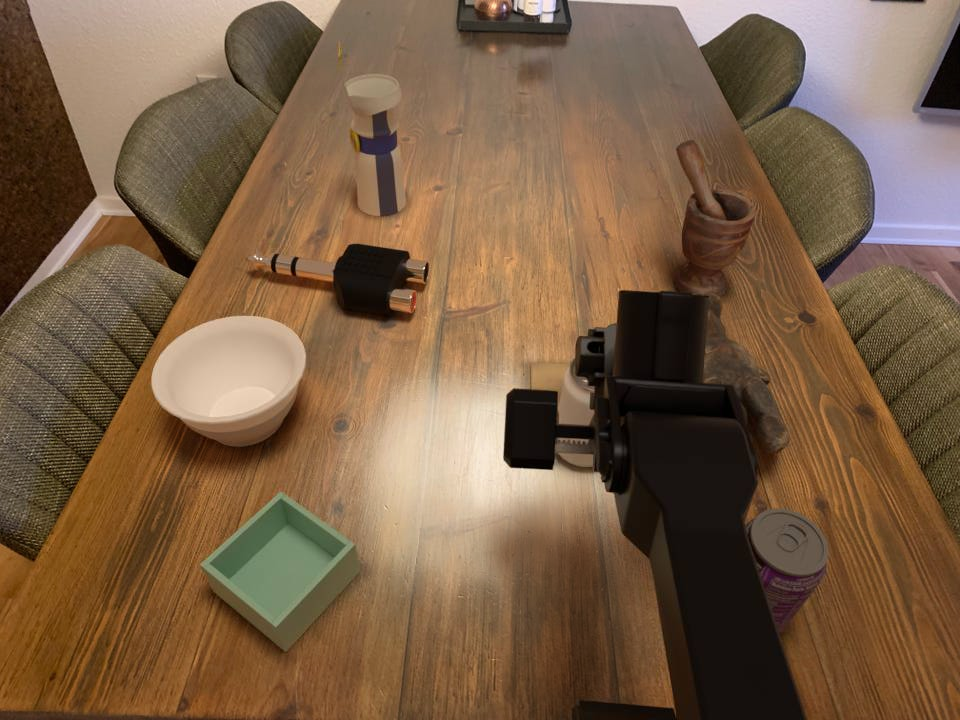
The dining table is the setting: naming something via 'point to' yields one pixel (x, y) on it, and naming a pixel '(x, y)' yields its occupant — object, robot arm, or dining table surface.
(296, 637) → the tote
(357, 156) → the water bottle
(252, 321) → the bowl
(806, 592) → the beverage can
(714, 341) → the sculpture
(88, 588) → the dining table surface
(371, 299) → the audio adapter
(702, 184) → the mortar and pestle
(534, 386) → the board
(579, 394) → the can
